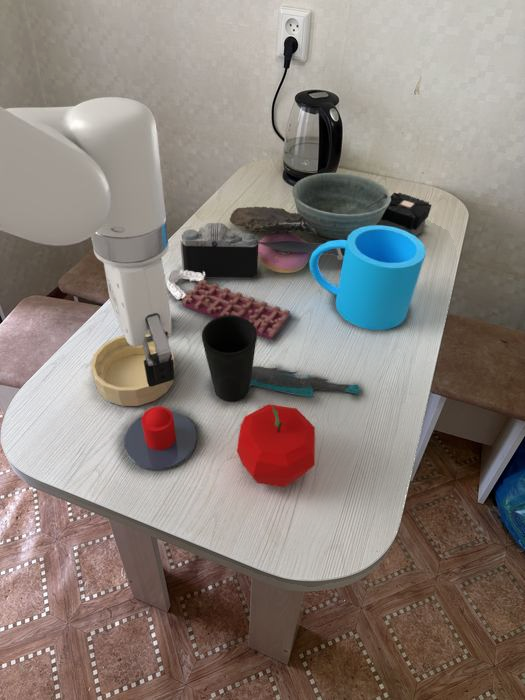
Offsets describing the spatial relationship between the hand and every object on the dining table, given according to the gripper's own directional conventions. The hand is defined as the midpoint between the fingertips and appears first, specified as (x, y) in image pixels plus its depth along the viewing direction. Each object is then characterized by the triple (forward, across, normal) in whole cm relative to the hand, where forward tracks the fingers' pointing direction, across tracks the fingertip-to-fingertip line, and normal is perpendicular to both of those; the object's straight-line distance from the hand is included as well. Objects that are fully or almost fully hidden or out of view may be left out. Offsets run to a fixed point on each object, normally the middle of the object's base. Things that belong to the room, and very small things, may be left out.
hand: (149, 355), depth 63 cm
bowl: (+15, -36, +52) cm, 65 cm away
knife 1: (+11, -23, +43) cm, 50 cm away
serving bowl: (+15, -11, 0) cm, 18 cm away
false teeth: (+15, -31, +14) cm, 37 cm away
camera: (+15, -33, +23) cm, 43 cm away
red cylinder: (+14, +2, -1) cm, 14 cm away
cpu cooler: (+12, -38, +66) cm, 77 cm away
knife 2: (+15, -1, +20) cm, 25 cm away
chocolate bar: (+15, -20, +20) cm, 32 cm away
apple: (+15, +12, +12) cm, 23 cm away
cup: (+15, -3, +12) cm, 19 cm away
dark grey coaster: (+15, +2, -1) cm, 15 cm away
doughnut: (+14, -31, +36) cm, 50 cm away
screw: (+5, -29, +56) cm, 63 cm away
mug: (+15, -13, +42) cm, 47 cm away
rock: (+8, -34, +43) cm, 56 cm away
